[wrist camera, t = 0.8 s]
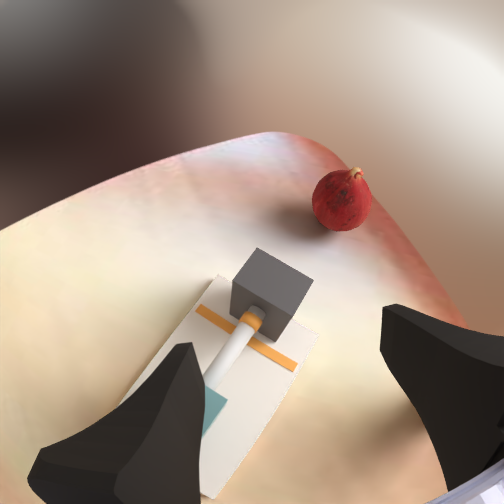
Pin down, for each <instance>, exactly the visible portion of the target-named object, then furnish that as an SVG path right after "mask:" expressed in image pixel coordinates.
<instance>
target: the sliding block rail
mask: <svg viewBox="0 0 504 504" xmlns="http://www.w3.org/2000/svg"><path fill="white" fill-rule="evenodd" d="M313 281H314V280H313V279H311V278H309V277H307V276H306V275H304V274H302V273H301V272H299V271H297V270H295V269H294V268H292V267H290V266H288V265H287V264H285V263H283V262H281V261H280V260H278V259H276V258H275V257H273V256H271V255H269V254H268V253H266V252H264V251H262V250H261V249H259V248H256V250H255V251H254V252H253V254H252V255H251V256H250V258H249V259H248V260H247V262H246V263H245V264H244V266H243V267H242V268H241V270H240V271H239V272H238V274H237V275H236V276H235V278H234V279H233V280H232V282H230V281H228V280H227V279H225V278H224V277H222V276H220V275H219V274H218V275H217V276H216V278H215V279H214V280H213V281H212V283H211V284H210V285H209V287H208V288H207V289H206V290H205V292H204V293H203V294H202V296H201V297H200V298H199V299H198V301H197V302H196V303H195V305H194V306H193V307H192V308H191V310H190V311H189V312H188V314H187V315H186V316H185V318H184V319H183V320H182V321H181V323H180V324H179V325H178V327H177V328H176V329H175V331H174V332H173V333H172V334H171V336H170V337H169V338H168V340H167V341H166V342H165V344H164V345H163V346H162V348H161V349H160V350H159V351H158V353H157V354H156V355H155V357H154V358H153V359H152V361H151V362H150V363H149V365H148V366H147V367H146V369H145V370H144V371H143V372H142V374H141V375H140V376H139V378H138V379H137V380H136V382H135V383H134V384H133V386H132V387H131V388H130V390H129V391H128V392H127V394H126V395H125V396H124V398H123V399H122V400H121V402H120V403H119V404H118V406H119V405H120V404H122V403H123V402H124V401H125V400H126V399H127V398H128V397H130V396H131V395H132V394H133V393H134V392H135V391H136V390H137V389H138V388H139V387H140V385H141V384H142V383H143V382H144V381H145V380H146V379H147V378H148V377H149V376H150V375H151V374H152V372H153V371H154V370H155V369H156V368H157V367H158V365H159V364H160V363H161V362H162V361H163V359H164V358H165V357H166V356H167V354H168V353H169V352H170V351H171V349H172V348H173V347H174V346H175V345H176V344H179V343H187V342H192V343H193V346H194V350H195V353H196V357H197V360H198V363H199V366H200V370H201V373H202V376H203V379H204V382H205V385H206V386H207V387H209V388H210V389H212V390H213V391H215V392H217V393H218V394H220V395H221V396H223V397H224V398H226V399H228V401H227V403H226V406H225V407H224V409H223V410H222V411H221V413H220V414H219V416H218V417H217V419H216V420H215V421H214V423H213V424H212V426H211V427H210V429H209V430H208V431H207V433H206V434H205V436H204V437H203V438H202V440H201V447H200V459H199V478H200V493H202V494H204V495H206V496H207V497H209V498H211V499H213V500H214V499H215V497H216V496H217V495H218V493H219V492H220V491H221V489H222V488H223V487H224V485H225V484H226V483H227V481H228V480H229V479H230V477H231V476H232V475H233V473H234V472H235V470H236V469H237V468H238V466H239V465H240V463H241V462H242V460H243V459H244V458H245V456H246V455H247V453H248V452H249V450H250V449H251V447H252V446H253V444H254V443H255V442H256V440H257V439H258V437H259V436H260V434H261V432H262V431H263V429H264V428H265V426H266V425H267V423H268V422H269V420H270V419H271V417H272V415H273V414H274V412H275V411H276V409H277V407H278V406H279V404H280V403H281V401H282V399H283V398H284V396H285V394H286V393H287V391H288V389H289V388H290V386H291V384H292V383H293V381H294V379H295V378H296V376H297V374H298V372H299V371H300V369H301V367H302V365H303V364H304V362H305V360H306V358H307V357H308V355H309V353H310V351H311V349H312V348H313V346H314V344H315V342H316V340H317V338H318V336H319V334H318V333H316V332H314V331H312V330H311V329H309V328H307V327H305V326H304V325H302V324H300V323H299V322H297V321H295V320H293V319H292V317H293V315H294V314H295V312H296V310H297V309H298V307H299V305H300V303H301V302H302V300H303V298H304V297H305V295H306V293H307V291H308V290H309V288H310V286H311V284H312V283H313ZM118 406H117V407H118ZM117 407H116V408H117ZM116 408H115V409H116Z"/></svg>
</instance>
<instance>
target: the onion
mask: <svg viewBox="0 0 504 504" xmlns="http://www.w3.org/2000/svg"><path fill="white" fill-rule="evenodd" d="M362 176H363V172H362V170H361V169H360V168H355V167H353V168H352V169H351V170H349V171H347V170H338V171H334V172H330V173H329V174H327V175H326V176H325V177H323V178H322V179H321V180H320V181H319V182H318V184H317V186H316V188H315V190H314V192H313V196H312V205H313V211H314V214H315V215H316V217H317V219H318V221H319V222H320V223H321V224H323V225H324V226H325V227H326V228H328V229H331V230H334V231H348V230H351V229H354V228H356V227H358V226H359V225H361V224H362V223H363V221H364V220H365V219H366V217H367V216H368V214H369V212H370V207H371V201H372V196H371V192H370V190H369V187H368V185H367V183H366V182H365V180H364V179H363V178H362Z"/></svg>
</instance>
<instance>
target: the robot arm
mask: <svg viewBox="0 0 504 504" xmlns="http://www.w3.org/2000/svg"><path fill="white" fill-rule="evenodd" d="M380 352H381V354H382V356H383V358H384V360H385V362H386V364H387V366H388V368H389V370H390V371H391V373H392V374H393V376H394V377H395V379H396V380H397V382H398V383H399V385H400V386H401V388H402V389H403V391H404V392H405V394H406V395H407V396H408V398H409V399H410V401H411V402H412V404H413V405H414V407H415V408H416V410H417V412H418V414H419V415H420V417H421V419H422V421H423V423H424V425H425V428H426V430H427V432H428V434H429V436H430V439H431V441H432V443H433V446H434V448H435V451H436V453H437V456H438V459H439V462H440V465H441V468H442V471H443V474H444V478H445V481H446V485H447V489H448V493H446V494H444V495H442V496H440V497H438V498H436V499H434V500H432V501H430V502H427V503H425V504H504V337H503V336H496V335H489V334H484V333H480V332H476V331H472V330H468V329H464V328H461V327H458V326H455V325H452V324H449V323H446V322H444V321H441V320H438V319H436V318H433V317H431V316H428V315H426V314H423V313H421V312H418V311H416V310H413V309H411V308H408V307H405V306H403V305H399V304H393V305H389V306H385V307H383V310H382V327H381V341H380ZM204 413H205V382H204V379H203V376H202V373H201V370H200V366H199V363H198V360H197V357H196V353H195V350H194V346H193V343H192V342H187V343H179V344H176V345H175V346H174V347H173V348H172V349H171V351H170V352H169V353H168V354H167V356H166V357H165V358H164V359H163V361H162V362H161V363H160V364H159V365H158V367H157V368H156V369H155V370H154V371H153V372H152V374H151V375H150V376H149V377H148V378H147V379H146V380H145V381H144V382H143V383H142V384H141V385H140V387H139V388H138V389H137V390H136V391H135V392H134V393H133V394H132V395H131V396H130V397H128V398H127V399H126V400H125V401H124V402H123V403H122V404H120V405H119V406H118V407H117V408H116V409H114V410H113V411H112V412H110V413H109V414H107V415H106V416H104V417H103V418H102V419H100V420H99V421H97V422H96V423H94V424H93V425H91V426H89V427H88V428H86V429H84V430H83V431H81V432H79V433H77V434H75V435H73V436H71V437H69V438H67V439H65V440H62V441H60V442H57V443H55V444H52V445H50V446H47V447H44V448H42V449H41V450H40V452H39V454H38V456H37V458H36V460H35V462H34V464H33V466H32V469H31V471H30V473H29V475H28V477H27V480H28V484H29V486H30V487H31V489H32V490H33V491H34V492H35V493H36V494H37V495H38V496H39V497H40V498H41V499H42V500H43V501H44V502H45V503H47V504H201V501H200V478H199V459H200V447H201V439H202V430H203V422H204Z"/></svg>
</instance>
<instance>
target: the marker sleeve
mask: <svg viewBox="0 0 504 504" xmlns="http://www.w3.org/2000/svg"><path fill="white" fill-rule="evenodd" d="M227 401H228V399H226V398H224V397H223V396H221V395H220V394H218V393H217V392H215V391H213V390H212V389H210V388H209V387H207V386H206V385H205V413H204V422H203V430H202V438H203V437H204V436H205V434H206V433H207V431H208V430H209V429H210V427H211V426H212V424H213V423H214V421H215V420H216V419H217V417H218V416H219V414H220V413H221V411H222V410H223V409H224V407H225V406H226V403H227ZM201 440H202V439H201Z"/></svg>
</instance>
